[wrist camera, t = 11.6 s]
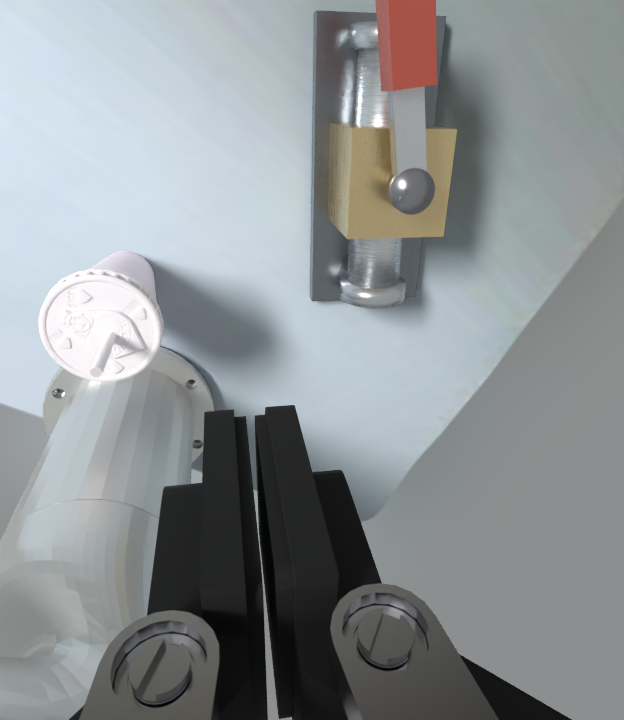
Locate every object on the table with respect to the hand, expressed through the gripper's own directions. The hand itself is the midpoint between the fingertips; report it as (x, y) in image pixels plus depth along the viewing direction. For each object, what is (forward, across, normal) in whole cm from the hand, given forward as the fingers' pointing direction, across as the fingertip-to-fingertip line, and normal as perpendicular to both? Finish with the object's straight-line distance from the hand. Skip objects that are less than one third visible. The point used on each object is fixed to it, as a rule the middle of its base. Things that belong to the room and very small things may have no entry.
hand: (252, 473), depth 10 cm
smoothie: (+29, +7, +5) cm, 31 cm away
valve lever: (+21, -9, -6) cm, 24 cm away
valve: (+29, -10, -2) cm, 31 cm away
